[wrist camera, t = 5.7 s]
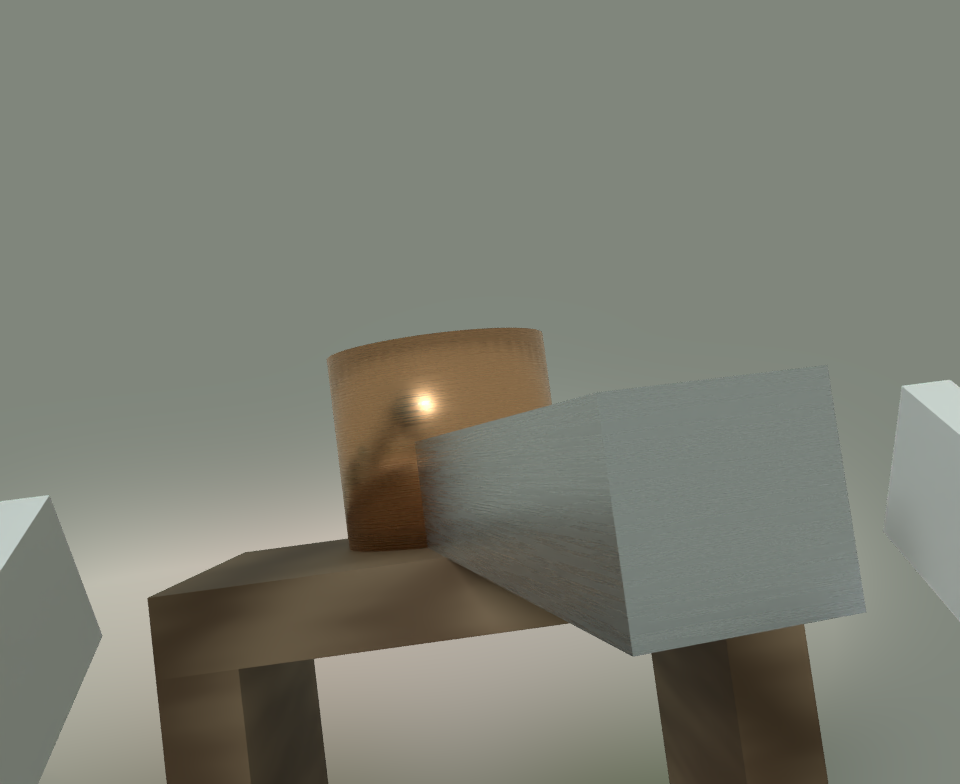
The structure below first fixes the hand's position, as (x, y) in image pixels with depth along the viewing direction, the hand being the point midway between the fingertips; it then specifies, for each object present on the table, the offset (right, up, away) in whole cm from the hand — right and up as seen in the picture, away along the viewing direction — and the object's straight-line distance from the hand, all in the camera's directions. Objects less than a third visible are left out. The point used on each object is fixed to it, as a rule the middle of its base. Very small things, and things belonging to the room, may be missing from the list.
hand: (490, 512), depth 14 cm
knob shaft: (+1, -2, +7) cm, 7 cm away
